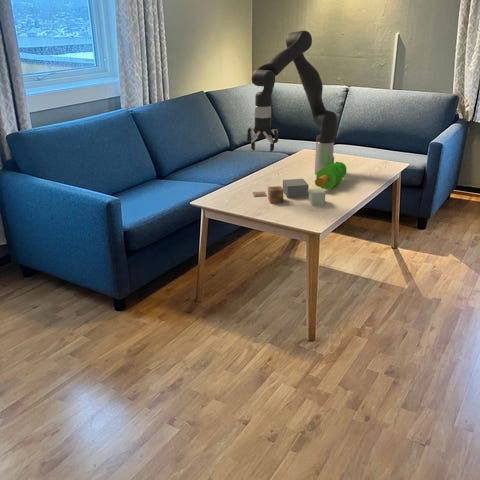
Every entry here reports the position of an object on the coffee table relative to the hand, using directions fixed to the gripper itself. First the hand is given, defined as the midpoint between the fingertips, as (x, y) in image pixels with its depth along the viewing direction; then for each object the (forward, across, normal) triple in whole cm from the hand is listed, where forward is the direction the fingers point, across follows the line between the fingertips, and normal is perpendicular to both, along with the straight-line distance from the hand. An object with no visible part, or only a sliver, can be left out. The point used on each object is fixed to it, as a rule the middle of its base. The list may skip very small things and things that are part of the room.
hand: (262, 150), depth 246 cm
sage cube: (+21, -28, +7) cm, 35 cm away
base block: (+21, -16, -3) cm, 26 cm away
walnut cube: (+21, -9, +9) cm, 24 cm away
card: (+21, +1, +2) cm, 21 cm away
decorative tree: (+20, -31, -22) cm, 43 cm away
